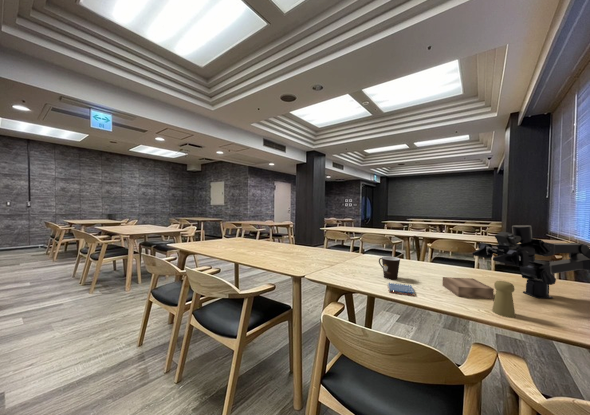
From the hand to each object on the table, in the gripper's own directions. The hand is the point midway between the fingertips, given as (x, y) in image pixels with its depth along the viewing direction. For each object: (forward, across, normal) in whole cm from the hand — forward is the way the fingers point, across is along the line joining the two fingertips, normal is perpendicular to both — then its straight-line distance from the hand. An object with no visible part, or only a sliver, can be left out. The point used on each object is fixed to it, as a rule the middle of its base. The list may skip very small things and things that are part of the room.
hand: (482, 256), depth 94 cm
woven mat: (+31, -10, +14) cm, 35 cm away
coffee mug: (+26, -28, +14) cm, 41 cm away
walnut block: (+3, -6, +16) cm, 18 cm away
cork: (+7, +14, +16) cm, 22 cm away
